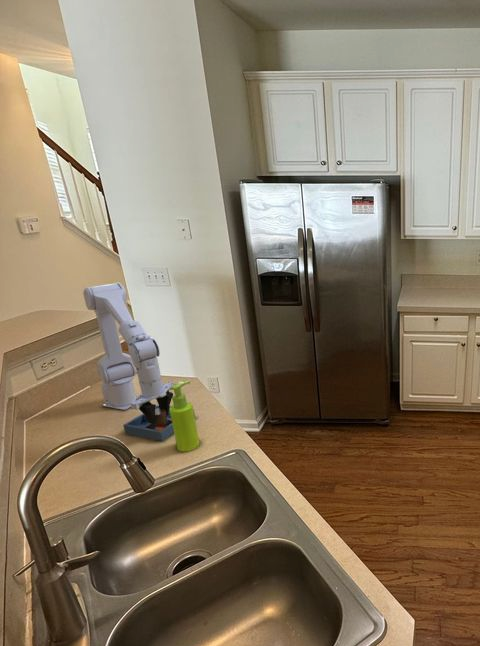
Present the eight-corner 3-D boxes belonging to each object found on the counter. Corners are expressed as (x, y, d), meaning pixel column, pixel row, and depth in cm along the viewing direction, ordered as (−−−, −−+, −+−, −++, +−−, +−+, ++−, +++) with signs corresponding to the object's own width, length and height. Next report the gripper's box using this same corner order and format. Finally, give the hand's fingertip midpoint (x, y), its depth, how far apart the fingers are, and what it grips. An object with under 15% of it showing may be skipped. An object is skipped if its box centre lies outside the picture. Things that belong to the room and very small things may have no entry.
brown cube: (148, 425, 131) (145, 413, 129) (159, 418, 135) (157, 407, 133) (160, 427, 130) (157, 416, 128) (171, 420, 134) (168, 409, 132)
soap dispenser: (206, 440, 130) (195, 381, 123) (188, 453, 124) (176, 391, 117) (190, 436, 132) (179, 377, 125) (172, 449, 126) (159, 388, 119)
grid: (125, 433, 133) (123, 425, 132) (160, 411, 145) (159, 403, 144) (162, 441, 129) (160, 432, 128) (195, 418, 142) (193, 410, 141)
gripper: (140, 391, 119) (150, 433, 124) (179, 371, 132) (187, 409, 137) (120, 388, 121) (131, 429, 126) (160, 368, 134) (168, 406, 139)
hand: (158, 419), depth 132 cm, fingers closed on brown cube, 4 cm apart
